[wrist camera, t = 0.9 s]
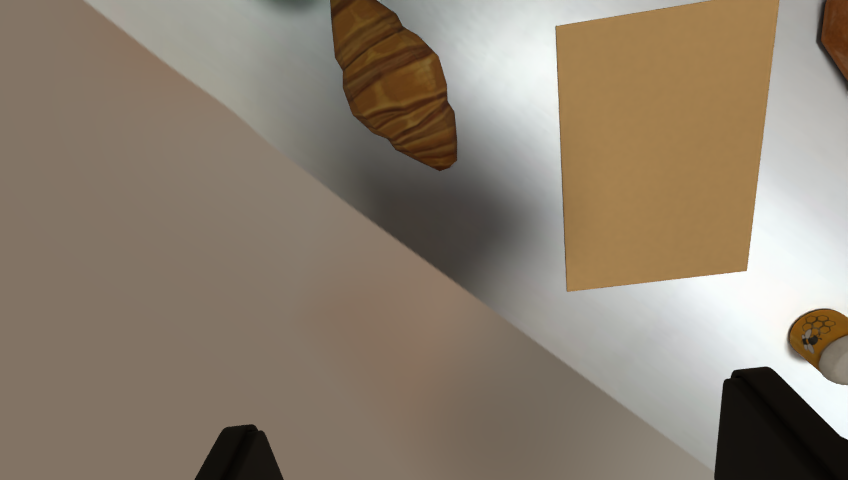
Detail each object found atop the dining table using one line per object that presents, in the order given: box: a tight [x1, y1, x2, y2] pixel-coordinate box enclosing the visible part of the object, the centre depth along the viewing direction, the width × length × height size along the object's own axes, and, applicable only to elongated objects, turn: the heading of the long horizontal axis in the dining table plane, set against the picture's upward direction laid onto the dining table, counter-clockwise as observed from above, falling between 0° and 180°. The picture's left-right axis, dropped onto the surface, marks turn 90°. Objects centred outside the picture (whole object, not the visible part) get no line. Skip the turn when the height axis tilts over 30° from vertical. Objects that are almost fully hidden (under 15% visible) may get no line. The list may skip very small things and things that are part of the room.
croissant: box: [330, 0, 457, 171], centre depth 30 cm, size 14×7×5 cm, turn 32°
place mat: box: [556, 0, 779, 292], centre depth 34 cm, size 20×14×1 cm
